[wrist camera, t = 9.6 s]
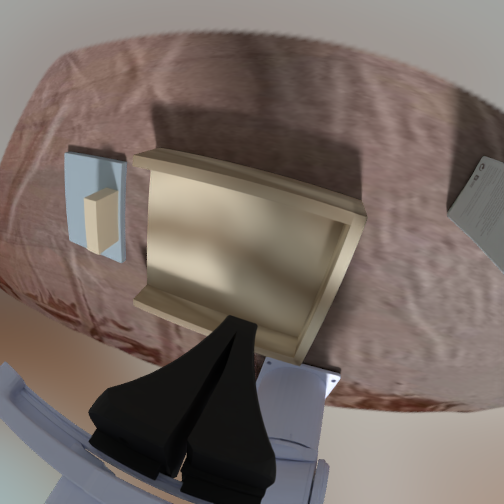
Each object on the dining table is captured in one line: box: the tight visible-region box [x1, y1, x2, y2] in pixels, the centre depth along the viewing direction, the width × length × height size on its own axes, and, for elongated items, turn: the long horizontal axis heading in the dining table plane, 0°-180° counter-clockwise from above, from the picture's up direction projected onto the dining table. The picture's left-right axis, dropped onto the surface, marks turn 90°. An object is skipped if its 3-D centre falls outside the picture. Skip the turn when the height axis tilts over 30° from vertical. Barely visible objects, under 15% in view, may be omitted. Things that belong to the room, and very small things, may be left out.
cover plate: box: [65, 151, 127, 263], centre depth 23 cm, size 10×8×4 cm
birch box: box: [133, 148, 368, 366], centre depth 21 cm, size 14×16×4 cm
